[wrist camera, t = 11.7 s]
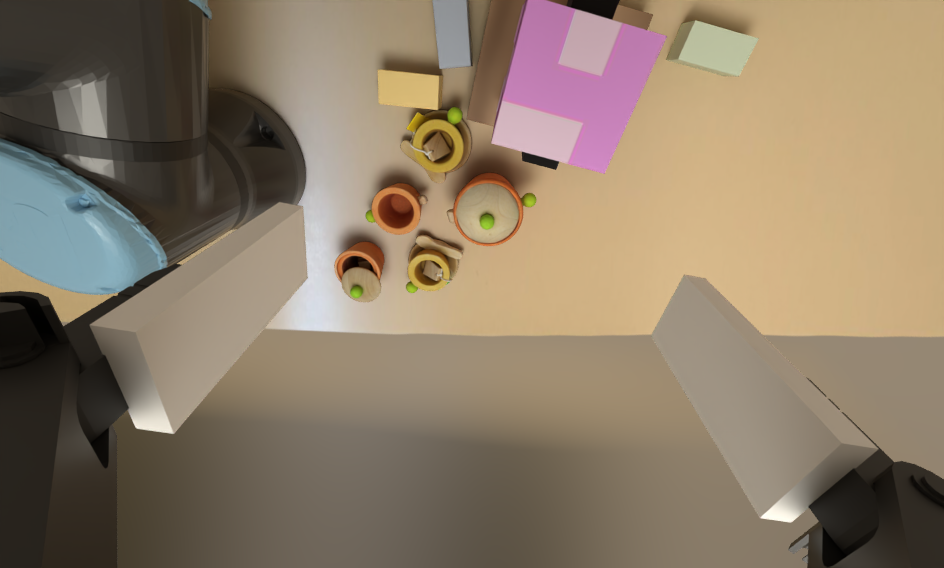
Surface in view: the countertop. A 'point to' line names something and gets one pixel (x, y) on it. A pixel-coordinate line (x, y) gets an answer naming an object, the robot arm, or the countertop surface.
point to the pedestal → (500, 49)
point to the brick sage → (711, 48)
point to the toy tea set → (399, 206)
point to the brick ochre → (410, 89)
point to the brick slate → (453, 33)
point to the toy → (572, 82)
